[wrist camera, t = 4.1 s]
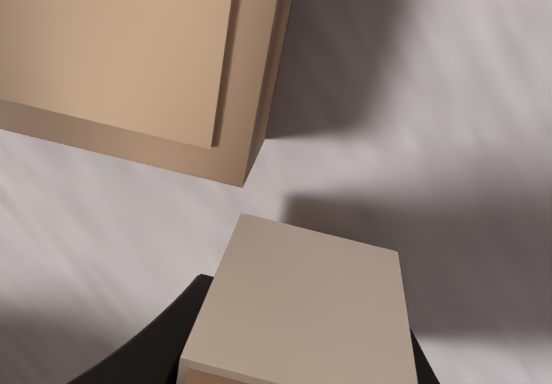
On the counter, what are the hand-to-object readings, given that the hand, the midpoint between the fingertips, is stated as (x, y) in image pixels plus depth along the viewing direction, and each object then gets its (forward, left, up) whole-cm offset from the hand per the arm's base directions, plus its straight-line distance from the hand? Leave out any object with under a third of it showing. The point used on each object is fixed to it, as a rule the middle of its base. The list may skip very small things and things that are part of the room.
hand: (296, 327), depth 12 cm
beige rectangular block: (0, 0, -1) cm, 1 cm away
